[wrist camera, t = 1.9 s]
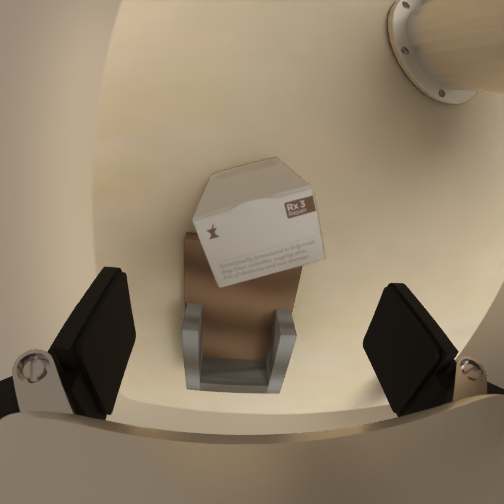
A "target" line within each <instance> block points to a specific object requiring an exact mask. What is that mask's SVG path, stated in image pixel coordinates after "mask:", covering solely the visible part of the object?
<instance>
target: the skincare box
mask: <svg viewBox="0 0 504 504" xmlns="http://www.w3.org/2000/svg"><path fill="white" fill-rule="evenodd" d="M192 222H193V224H194V227H195V229H196V231H197V234H198V237H199V239H200V242H201V244H202V247H203V250H204V252H205V255H206V257H207V260H208V262H209V265H210V267H211V270H212V272H213V275H214V277H215V280H216V283H217V285H218V287H220V288H221V287H225V286H229V285H233V284H236V283H240V282H244V281H247V280H251V279H255V278H258V277H262V276H266V275H269V274H273V273H277V272H280V271H284V270H288V269H291V268H295V267H298V266H302V265H306V264H309V263H313V262H316V261H320V260H324V259H325V258H326V256H325V250H324V244H323V239H322V233H321V228H320V222H319V217H318V211H317V205H316V200H315V195H314V190H313V187H312V186H311V185H310V184H309V183H307V182H306V181H305V180H304V179H302V178H301V177H300V176H299V175H297V174H296V173H295V172H294V171H293V170H291V169H290V168H289V167H288V166H287V165H285V164H284V163H283V162H282V161H281V160H279V159H278V158H277V157H273V158H269V159H265V160H261V161H257V162H253V163H249V164H246V165H242V166H238V167H235V168H231V169H228V170H224V171H221V172H217V173H214V174H212V175H211V176H210V178H209V181H208V183H207V185H206V187H205V190H204V192H203V194H202V196H201V199H200V201H199V203H198V206H197V208H196V211H195V213H194V215H193V217H192Z"/></svg>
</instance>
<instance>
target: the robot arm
mask: <svg viewBox="0 0 504 504" xmlns="http://www.w3.org/2000/svg"><path fill="white" fill-rule="evenodd" d="M388 33H389V39H390V43H391V46H392V49H393V52H394V54H395V56H396V58H397V60H398V62H399V64H400V66H401V67H402V69H403V71H404V72H405V74H406V75H407V76H408V77H409V79H410V80H411V81H412V82H413V83H414V84H415V85H416V86H417V87H418V88H419V89H420V90H421V91H422V92H423V93H425V94H426V95H427V96H429V97H430V98H432V99H434V100H436V101H439V102H442V103H446V104H462V103H465V102H467V101H469V100H470V99H471V98H473V97H474V96H475V94H476V93H477V92H478V91H488V92H498V93H504V0H397V1H396V2H395V3H394V5H393V6H392V8H391V10H390V13H389V17H388ZM135 338H136V331H135V326H134V320H133V315H132V309H131V303H130V297H129V290H128V283H127V276H126V273H124V272H122V270H121V269H120V268H116V267H104V268H103V269H102V270H101V272H100V273H99V274H98V276H97V277H96V279H95V280H94V281H93V283H92V284H91V286H90V287H89V289H88V290H87V291H86V293H85V294H84V296H83V297H82V299H81V300H80V302H79V303H78V304H77V305H76V307H75V309H74V310H73V311H72V313H71V315H70V316H69V318H68V319H67V321H66V323H65V324H64V326H63V327H62V329H61V330H60V332H59V334H58V336H57V337H56V338H55V340H54V342H53V344H52V345H51V347H50V349H49V350H48V352H46V351H43V350H38V349H34V350H29V351H27V352H25V353H23V354H22V355H20V356H19V357H18V358H17V360H16V361H15V362H14V365H13V368H12V375H13V376H11V377H9V378H6V379H4V380H1V381H0V504H504V389H502V388H500V387H498V386H496V385H493V384H491V383H489V382H487V374H486V370H485V369H484V367H483V365H482V364H481V363H480V362H479V361H477V360H476V359H474V358H472V357H468V356H463V357H460V358H459V359H458V360H457V362H456V361H455V360H454V358H455V357H456V355H457V354H458V350H457V349H456V348H455V346H454V345H453V344H452V342H451V341H450V340H449V338H448V337H447V336H446V334H445V333H444V332H443V330H442V329H441V328H440V327H439V325H438V324H437V323H436V321H435V320H434V319H433V318H432V316H431V315H430V314H429V313H428V311H427V310H426V309H425V308H424V307H423V305H422V304H421V303H420V302H419V300H418V299H417V298H416V297H415V296H414V294H413V293H412V292H411V291H410V290H409V289H408V287H407V286H406V285H405V284H403V283H390V284H389V285H388V286H387V287H385V288H384V290H383V293H382V296H381V298H380V301H379V303H378V306H377V308H376V311H375V313H374V316H373V318H372V321H371V323H370V326H369V328H368V330H367V333H366V335H365V337H364V340H363V348H364V350H365V352H366V354H367V356H368V358H369V360H370V363H371V365H372V367H373V369H374V371H375V373H376V375H377V377H378V380H379V382H380V384H381V386H382V388H383V391H384V393H385V395H386V397H387V399H388V402H389V404H390V406H391V408H392V410H393V412H394V413H396V414H397V416H398V417H397V418H393V419H388V420H384V421H379V422H374V423H369V424H364V425H358V426H353V427H346V428H339V429H332V430H324V431H315V432H305V433H292V434H274V435H218V434H200V433H187V432H177V431H168V430H161V429H153V428H145V427H139V426H133V425H127V424H121V423H116V422H111V421H106V420H105V419H106V416H107V414H108V415H111V413H112V411H113V408H114V405H115V401H116V398H117V394H118V391H119V388H120V385H121V382H122V378H123V375H124V372H125V369H126V366H127V363H128V360H129V357H130V354H131V351H132V348H133V345H134V343H135Z"/></svg>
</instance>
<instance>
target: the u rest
mask: <svg viewBox="0 0 504 504" xmlns="http://www.w3.org/2000/svg"><path fill="white" fill-rule="evenodd" d="M301 270H302V266H298V267H295V268H291V269H288V270H284V271H280V272H277V273H273V274H269V275H266V276H262V277H258V278H255V279H251V280H247V281H244V282H240V283H236V284H233V285H229V286H225V287H221V288H220V287H218V285H217V283H216V280H215V277H214V275H213V272H212V270H211V267H210V265H209V262H208V260H207V257H206V255H205V252H204V250H203V247H202V244H201V242H200V239H199V237H198V234H197V233H186V235H185V238H184V287H185V316H184V320H183V325H182V329H181V330H182V343H183V356H184V367H185V377H186V387H187V389H190V390H201V391H214V392H231V393H280V390H281V387H282V384H283V381H284V377H285V374H286V371H287V367H288V364H289V361H290V357H291V354H292V350H293V347H294V343H295V340H296V336H297V335H296V330H295V326H294V322H293V318H292V310H293V306H294V301H295V297H296V293H297V288H298V284H299V279H300V275H301Z"/></svg>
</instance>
